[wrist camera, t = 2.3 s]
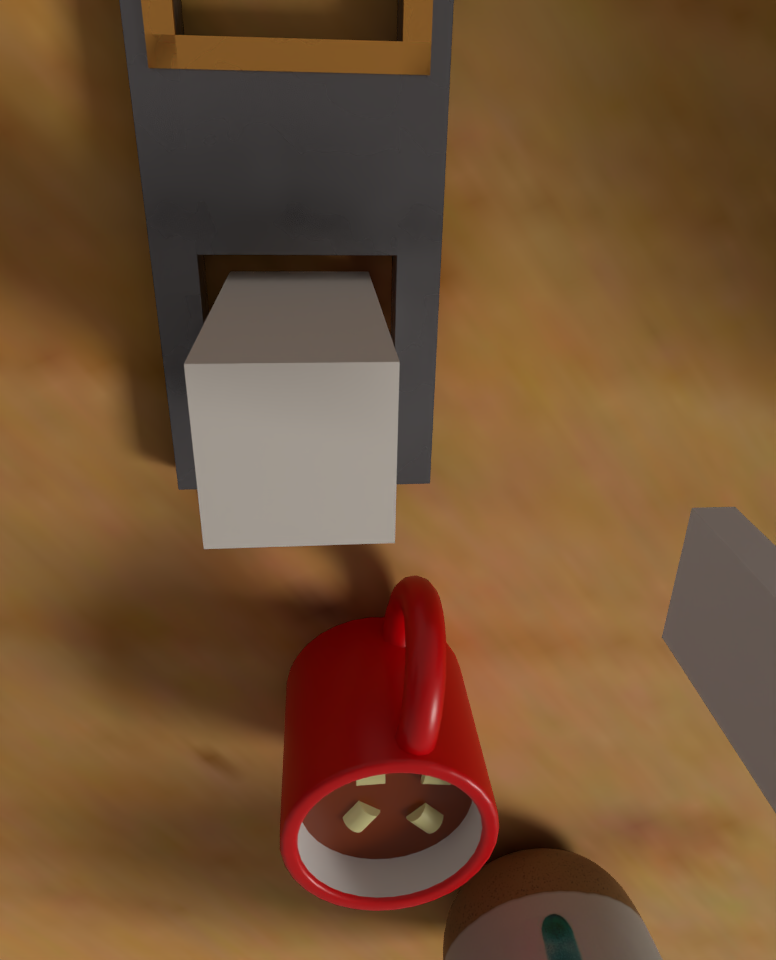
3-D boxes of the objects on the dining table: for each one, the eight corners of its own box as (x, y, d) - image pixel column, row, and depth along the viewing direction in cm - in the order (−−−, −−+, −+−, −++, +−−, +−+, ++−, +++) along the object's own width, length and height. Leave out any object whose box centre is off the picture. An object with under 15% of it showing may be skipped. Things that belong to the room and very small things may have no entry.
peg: (239, 401, 27) (204, 549, 18) (229, 271, 25) (183, 363, 16) (367, 399, 27) (394, 543, 18) (368, 271, 25) (399, 361, 16)
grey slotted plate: (185, 471, 28) (177, 492, 26) (89, -354, 18) (69, -397, 16) (424, 465, 28) (430, 485, 27) (460, -327, 19) (473, -364, 17)
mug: (498, 542, 30) (554, 673, 23) (443, 755, 36) (475, 914, 29) (306, 524, 29) (305, 656, 22) (278, 747, 34) (269, 911, 27)
